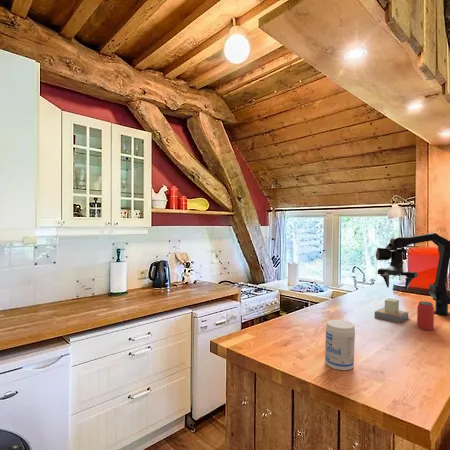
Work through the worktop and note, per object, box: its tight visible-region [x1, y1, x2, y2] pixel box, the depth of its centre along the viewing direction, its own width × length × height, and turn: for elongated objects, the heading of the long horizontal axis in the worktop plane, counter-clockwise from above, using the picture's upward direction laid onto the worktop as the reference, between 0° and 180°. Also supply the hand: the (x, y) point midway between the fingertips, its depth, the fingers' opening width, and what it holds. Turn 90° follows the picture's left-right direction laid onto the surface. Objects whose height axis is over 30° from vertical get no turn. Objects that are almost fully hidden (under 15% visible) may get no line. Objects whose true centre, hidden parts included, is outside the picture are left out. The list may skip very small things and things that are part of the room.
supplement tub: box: [324, 319, 356, 371], centre depth 114 cm, size 10×10×15 cm
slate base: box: [374, 306, 409, 324], centre depth 168 cm, size 12×12×3 cm
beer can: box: [416, 301, 435, 331], centre depth 152 cm, size 7×7×12 cm
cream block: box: [384, 297, 400, 314], centre depth 168 cm, size 5×5×6 cm
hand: (396, 288), depth 179 cm, fingers open, 9 cm apart
